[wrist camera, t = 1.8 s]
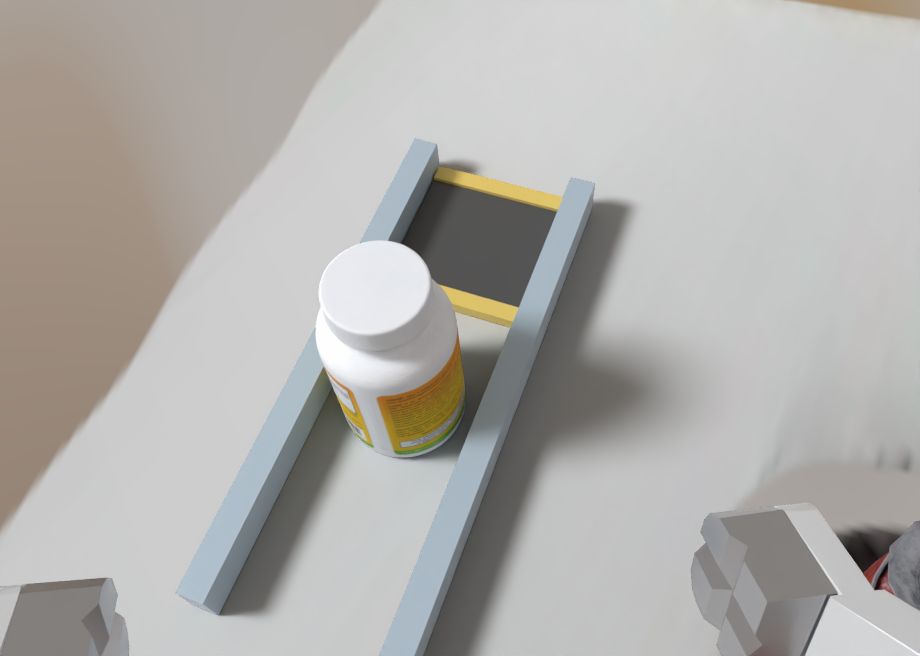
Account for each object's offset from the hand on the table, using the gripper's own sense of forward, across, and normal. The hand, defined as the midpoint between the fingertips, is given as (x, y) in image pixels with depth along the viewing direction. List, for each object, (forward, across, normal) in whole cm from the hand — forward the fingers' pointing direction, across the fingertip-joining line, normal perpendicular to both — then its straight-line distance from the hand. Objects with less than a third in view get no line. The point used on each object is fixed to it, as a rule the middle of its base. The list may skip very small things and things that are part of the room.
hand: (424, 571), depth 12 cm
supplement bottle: (+22, -2, +15) cm, 27 cm away
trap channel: (+22, -3, +14) cm, 27 cm away
